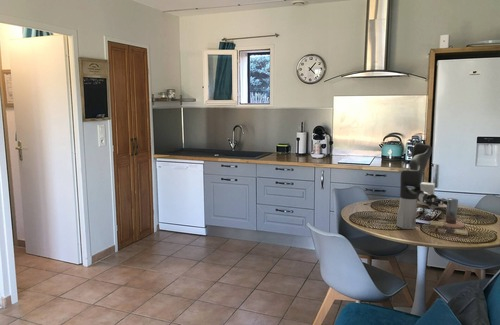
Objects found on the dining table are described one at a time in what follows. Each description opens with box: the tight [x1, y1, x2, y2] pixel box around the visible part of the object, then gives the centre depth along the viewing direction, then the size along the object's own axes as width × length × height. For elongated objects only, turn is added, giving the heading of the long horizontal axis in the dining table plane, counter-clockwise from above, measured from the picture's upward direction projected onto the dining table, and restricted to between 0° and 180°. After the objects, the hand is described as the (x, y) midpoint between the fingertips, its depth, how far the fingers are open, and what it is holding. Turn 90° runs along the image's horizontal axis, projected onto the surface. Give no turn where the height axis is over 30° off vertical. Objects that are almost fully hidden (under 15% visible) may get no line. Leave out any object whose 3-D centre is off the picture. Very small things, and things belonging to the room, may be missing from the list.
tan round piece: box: [438, 218, 465, 229], centre depth 240 cm, size 14×14×1 cm
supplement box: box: [418, 181, 436, 206], centre depth 290 cm, size 9×9×15 cm
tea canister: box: [445, 197, 459, 224], centre depth 239 cm, size 6×6×14 cm
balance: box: [428, 220, 469, 238], centre depth 224 cm, size 19×7×5 cm, turn 62°
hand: (444, 204), depth 246 cm, fingers open, 8 cm apart
